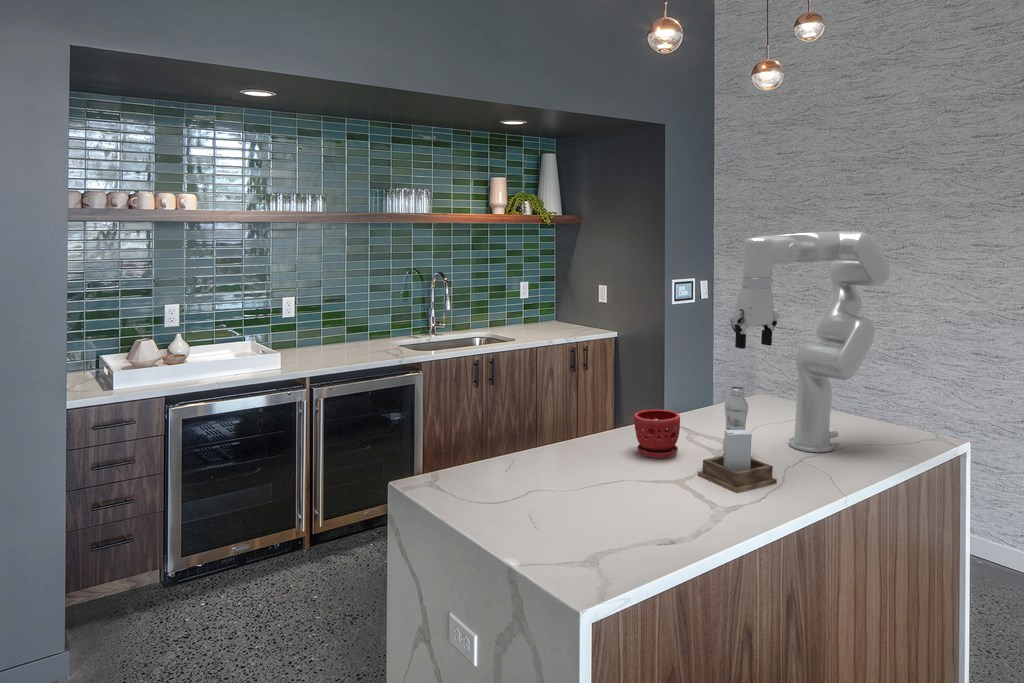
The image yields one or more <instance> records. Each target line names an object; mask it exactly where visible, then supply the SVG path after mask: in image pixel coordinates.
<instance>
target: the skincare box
mask: <svg viewBox="0 0 1024 683" xmlns="http://www.w3.org/2000/svg"><path fill="white" fill-rule="evenodd" d="M723 436H724V437H723V442H724V450H723V456H724V467H727V468H729V469H732V470H734V471H736V472H739V471H744V470H748V469H750V465H751V458H752V439H753V438H752V437H753V435H752V433H751V432H750V431H749V430H747V429H745V430H726V429H724V435H723Z"/></svg>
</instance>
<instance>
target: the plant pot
mask: <svg viewBox="0 0 1024 683" xmlns="http://www.w3.org/2000/svg"><path fill="white" fill-rule="evenodd" d="M633 416H634V417H633V419H634V429H635V437H636V439H637V442H638V445H637V451H638V452H639V453H640V454H641V455H642V456H645V457H647V456H648V457H647V458H656V459H657V458H658V459H661V458H663V459H664V458H670V457H673V456H674V455H676V454H677V453H678V451H679V447H678V446H677V445H676V444H677V442H678V440H679V436H680V430H681V429H680V428H681V415H680V413H678V412H675V411H673V410H669V409H667V410H666V409H645V410H639V411H637V412H636V413H635V414H634V415H633Z"/></svg>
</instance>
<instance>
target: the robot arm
mask: <svg viewBox="0 0 1024 683" xmlns="http://www.w3.org/2000/svg"><path fill="white" fill-rule="evenodd" d="M742 259H743V260H742V278H741V288H740V289H739V291H738V295H737V300H736V304H735V311H734V312H735V313H734V314H733V315H732V316H731V317H730V318H729V322H730V326H731V329H732V330H733V333H734V334H735V338H734V339H735V343H734V344H735V345H734V347H735V348H736V349H741V350H743V349H746V347H747V345H746V344H747V334H746V331H747V329H748V328H749V327H760V326H761V327H762V328H763V329H762V330H761V341H760V343H761V345H764V346H769V347H770V346H772V345H773V332H775V327H776V325H777V324H778V320H779V318H780V314H779V313H778V312H776V310H774V295H773V292H774V291H773V288H772V284H773V266H774V265H782V266H783V265H789V264H792V263H797V264H798V263H800V264H801V263H803V264H805V263H806V264H808V263H809V264H812V263H821V262H824V263H825V262H831V265H830V268H829V275H830V280H831V285H832V298H831V300H830V303H829V304H828V306H827V307H826V310H825V312H824V314H823V315H822V317H821V318H820V320H819V322H818V325H817V326H816V330H815V335H816V337H817V339H818V340H819V341H820V342H817V341H811V342H805V343H803V344H801V345H800V346H799V347H798V348H797V351H796V353H795V366H796V371H797V372H796V374H797V390H796V392H797V394H796V402H795V404H796V405H795V406H796V407H795V421H794V422H795V424H794V435H793V437H790V438H789V439H788V445H789V446H790V447H792V448H793V449H796V450H799V451H803V452H808V453H828V452H829V453H830V451H833V450H834V448H835V444H834V443H833V442H832V441H831V440H832V439H833V438H838V437H839V431H837V430H833V431H830V428H831V427H830V425H831V412H832V411H831V410H832V398H833V390H832V389H833V388H832V385H831V382H830V380H829V379H834V380H839V381H847V380H848V381H849V380H851V379H852V378H853V377H854V376H856V374H857V372H858V371H859V368H861V365H862V363H863V361H864V359H865V358H866V355H867V354H868V353H869V350H870V348H871V346H872V344H873V342H874V339H875V334H876V329H875V328H876V327H875V324H874V322H873V321H872V320H871V319H870V318H868V317H867V316H863V315H859V314H860V311H861V309H862V308H863V307H862V306H863V304H862V298H861V296H860V294H859V292H858V290H857V287H856V286H860V287H875V288H876V287H881V286H883V285H885V284H886V283H887V282H888V280H889V279H890V275H891V268H890V264H889V261H888V260H887V258H886V256H885V254H884V252H883V251H882V250H881V248H880V246H879V245H878V244H877V242H876V240H874V238H873V237H872V236H871V235H870V234H868V233H867V232H865V231H855V230H853V231H847V230H845V231H843V230H842V231H841V230H840V231H838V230H837V231H836V230H835V231H834V230H833V231H832V230H831V231H818V232H816V231H815V232H801V233H792V234H791V233H789V234H774V235H773V234H772V235H757V236H755V237H748V238H746V239H745V241H744V243H743V257H742Z"/></svg>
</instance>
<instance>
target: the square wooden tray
mask: <svg viewBox="0 0 1024 683" xmlns="http://www.w3.org/2000/svg"><path fill="white" fill-rule="evenodd" d="M773 470H774V466H773V465H770V464H769V463H765V462H763V461H760V460H758V459H754V458H752V457H751V465H750V469H748V470H744V471H739V472H736V471H734V470H732V469H729V468H727V467H724V455H719V456H715V457H711V458H705V459H702V470H700V471H697V476H698V477H701V478H702V479H704V480H707V481H709V482H711V481H712V483H713V482H714V484H716V485H718V486H720V485H721V486H720V487H722V486H723V487H722V488H725V489H727V490H730V491H732V492H733V493H738V494H739V493H741V492H746V491H750V490H755V489H759V488H762V487H767V486H771V485H775V484H777V482H778V481H777V480H778V479H776V478H774V477H773Z"/></svg>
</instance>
